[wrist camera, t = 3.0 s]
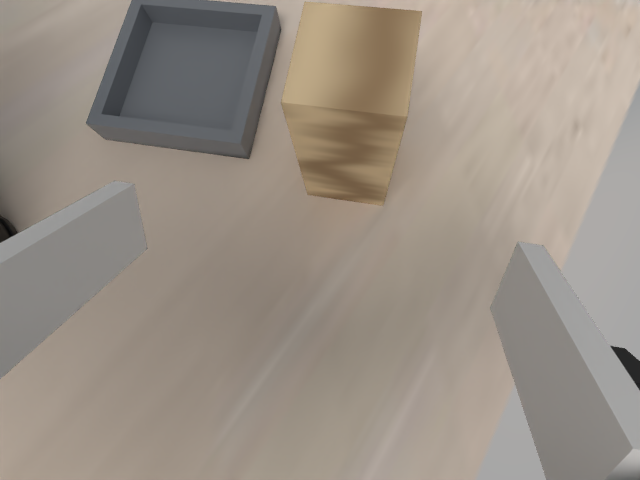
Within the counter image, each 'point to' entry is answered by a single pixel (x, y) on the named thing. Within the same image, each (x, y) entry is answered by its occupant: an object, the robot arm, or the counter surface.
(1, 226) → the french press
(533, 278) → the robot arm
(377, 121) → the oak block
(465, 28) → the counter surface
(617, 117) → the counter surface
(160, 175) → the counter surface
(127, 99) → the slate tray
